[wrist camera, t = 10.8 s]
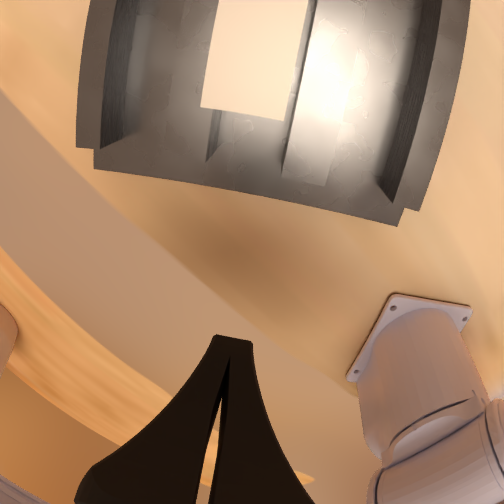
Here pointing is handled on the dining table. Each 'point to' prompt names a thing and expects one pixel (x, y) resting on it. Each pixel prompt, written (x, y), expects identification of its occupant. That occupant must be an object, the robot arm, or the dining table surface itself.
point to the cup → (6, 336)
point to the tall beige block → (253, 56)
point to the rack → (298, 106)
